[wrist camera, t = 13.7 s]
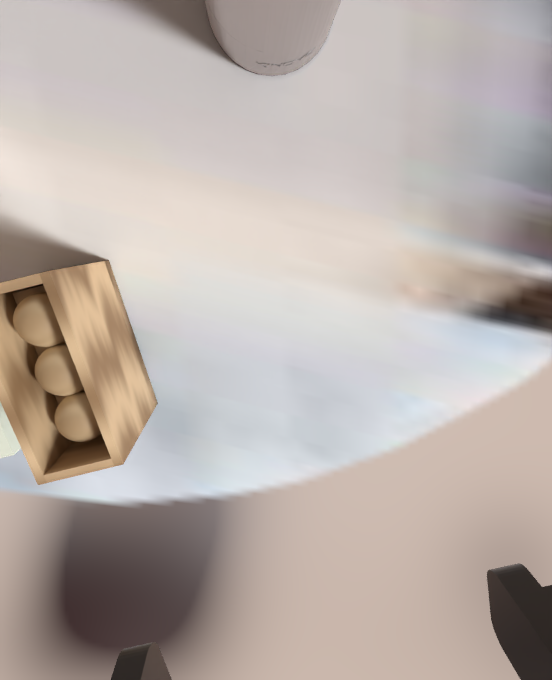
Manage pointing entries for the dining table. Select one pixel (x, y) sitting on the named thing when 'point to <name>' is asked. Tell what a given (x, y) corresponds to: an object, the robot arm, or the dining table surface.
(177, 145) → the dining table surface
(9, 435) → the lid
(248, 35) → the robot arm
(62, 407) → the oak box
